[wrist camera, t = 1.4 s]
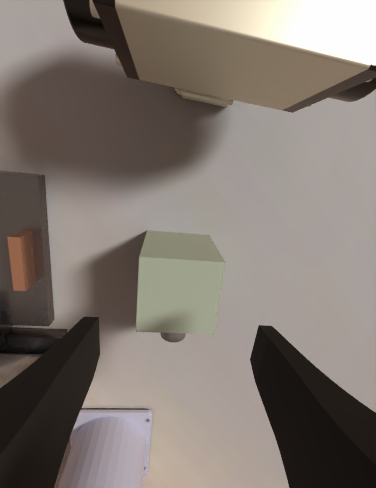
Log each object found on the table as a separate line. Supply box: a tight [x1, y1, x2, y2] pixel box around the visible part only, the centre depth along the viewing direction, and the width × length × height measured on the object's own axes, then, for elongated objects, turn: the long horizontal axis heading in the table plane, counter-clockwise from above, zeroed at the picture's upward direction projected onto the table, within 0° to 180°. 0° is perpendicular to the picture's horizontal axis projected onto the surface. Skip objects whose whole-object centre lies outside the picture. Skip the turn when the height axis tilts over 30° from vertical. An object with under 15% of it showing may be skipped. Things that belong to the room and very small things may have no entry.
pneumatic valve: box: [63, 0, 376, 113], centre depth 11 cm, size 6×12×12 cm, turn 81°
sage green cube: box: [136, 230, 226, 342], centre depth 18 cm, size 7×5×6 cm
